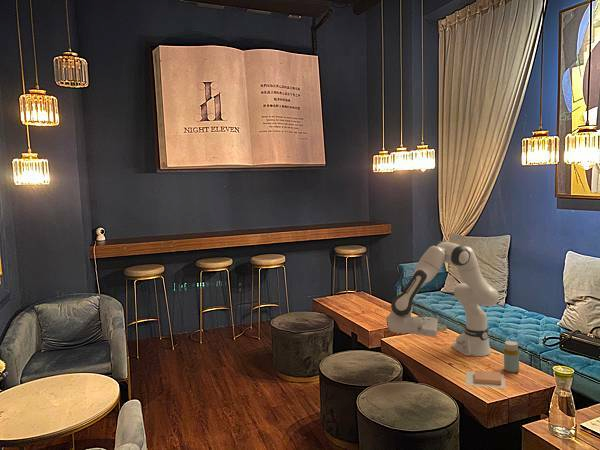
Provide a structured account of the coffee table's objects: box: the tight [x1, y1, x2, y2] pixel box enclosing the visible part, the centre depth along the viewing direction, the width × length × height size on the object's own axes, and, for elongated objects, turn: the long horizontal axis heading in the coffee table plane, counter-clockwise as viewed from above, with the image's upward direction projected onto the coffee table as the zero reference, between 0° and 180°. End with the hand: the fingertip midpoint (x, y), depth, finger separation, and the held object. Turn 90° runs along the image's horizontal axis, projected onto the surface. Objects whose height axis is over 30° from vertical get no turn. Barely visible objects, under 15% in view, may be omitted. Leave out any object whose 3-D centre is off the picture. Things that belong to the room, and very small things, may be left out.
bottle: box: [503, 340, 520, 374], centre depth 246 cm, size 7×7×15 cm
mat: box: [465, 370, 507, 389], centre depth 239 cm, size 18×16×1 cm
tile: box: [474, 369, 501, 385], centre depth 239 cm, size 2×10×12 cm
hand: (446, 328), depth 243 cm, fingers closed
